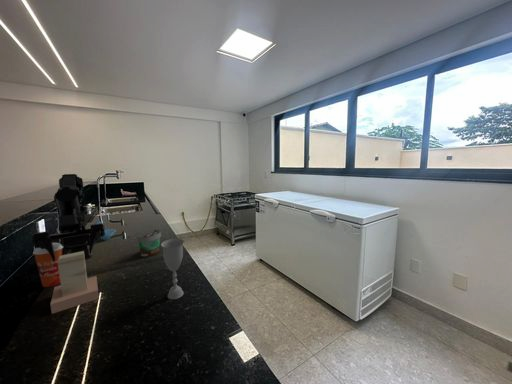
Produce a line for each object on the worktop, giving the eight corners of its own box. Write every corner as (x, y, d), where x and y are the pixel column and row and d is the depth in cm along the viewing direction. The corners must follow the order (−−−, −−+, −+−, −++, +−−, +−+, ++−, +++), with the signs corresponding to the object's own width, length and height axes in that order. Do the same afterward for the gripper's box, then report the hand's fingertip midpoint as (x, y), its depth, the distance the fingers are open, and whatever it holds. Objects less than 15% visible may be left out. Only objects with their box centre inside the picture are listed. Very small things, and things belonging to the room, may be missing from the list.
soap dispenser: (119, 238, 121) (118, 223, 120) (98, 244, 113) (96, 228, 112) (107, 232, 132) (106, 218, 131) (86, 237, 124) (85, 222, 122)
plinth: (51, 313, 62) (50, 304, 61) (55, 295, 70) (54, 286, 70) (98, 298, 69) (97, 290, 68) (97, 283, 77) (96, 275, 77)
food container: (151, 260, 95) (149, 238, 94) (139, 258, 96) (137, 237, 95) (167, 249, 107) (166, 230, 106) (156, 248, 108) (155, 229, 107)
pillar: (64, 287, 69) (59, 255, 68) (87, 281, 73) (83, 250, 72) (62, 296, 65) (57, 262, 63) (87, 289, 68) (83, 257, 67)
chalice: (168, 288, 74) (165, 239, 72) (188, 287, 75) (186, 238, 72) (161, 302, 67) (157, 247, 64) (183, 301, 68) (180, 247, 65)
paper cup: (34, 291, 72) (27, 252, 70) (43, 280, 79) (37, 244, 77) (63, 285, 76) (58, 248, 74) (70, 275, 83) (65, 240, 81)
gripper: (28, 208, 67) (26, 254, 60) (101, 201, 78) (106, 239, 71) (36, 226, 74) (35, 269, 67) (102, 218, 85) (107, 253, 79)
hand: (73, 257), depth 71 cm, fingers open, 9 cm apart
